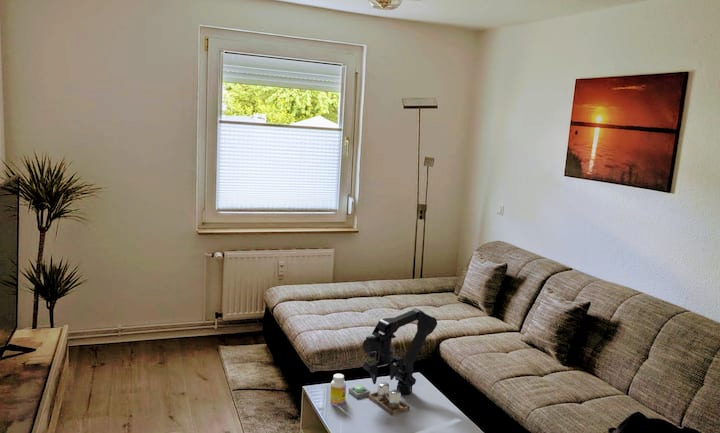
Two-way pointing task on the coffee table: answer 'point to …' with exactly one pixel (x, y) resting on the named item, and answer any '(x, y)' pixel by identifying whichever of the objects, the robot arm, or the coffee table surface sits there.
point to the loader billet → (394, 399)
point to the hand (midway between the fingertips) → (382, 381)
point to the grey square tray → (359, 395)
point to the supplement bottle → (338, 390)
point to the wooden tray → (386, 403)
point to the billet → (382, 391)
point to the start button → (359, 389)
